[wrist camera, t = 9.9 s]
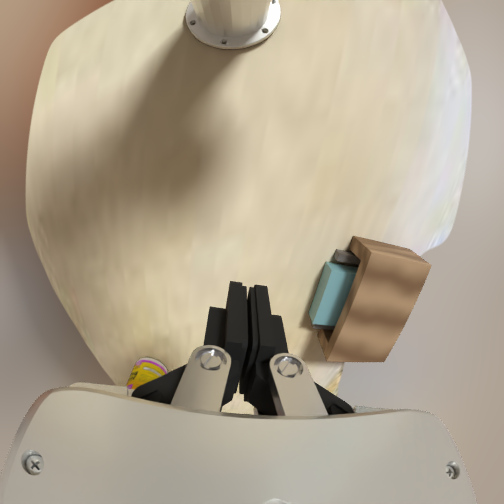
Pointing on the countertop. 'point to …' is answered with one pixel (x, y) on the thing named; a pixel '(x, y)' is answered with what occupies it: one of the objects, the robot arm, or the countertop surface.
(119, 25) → the countertop surface
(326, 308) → the pale blue foam block
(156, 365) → the supplement bottle
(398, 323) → the shelf dock
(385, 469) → the robot arm
